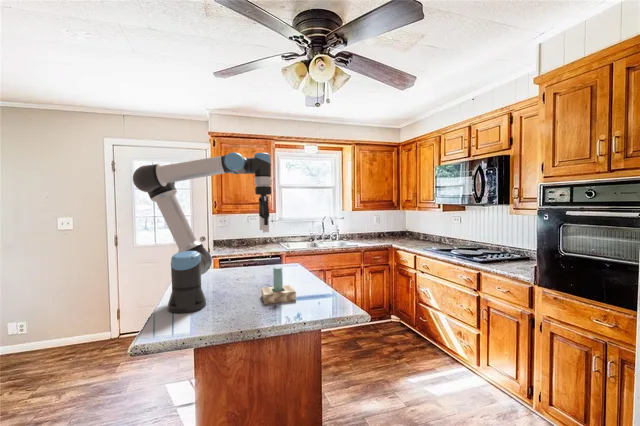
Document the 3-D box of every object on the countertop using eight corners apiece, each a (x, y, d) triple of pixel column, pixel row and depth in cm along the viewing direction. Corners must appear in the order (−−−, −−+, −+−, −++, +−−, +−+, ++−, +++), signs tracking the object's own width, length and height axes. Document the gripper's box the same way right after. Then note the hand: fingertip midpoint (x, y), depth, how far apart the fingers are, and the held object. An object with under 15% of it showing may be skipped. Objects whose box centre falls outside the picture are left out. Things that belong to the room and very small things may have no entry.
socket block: (264, 303, 138) (264, 294, 138) (261, 296, 150) (261, 287, 150) (295, 300, 142) (295, 291, 142) (290, 293, 154) (290, 285, 154)
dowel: (274, 300, 144) (274, 269, 143) (273, 297, 147) (272, 267, 147) (283, 299, 145) (282, 268, 144) (281, 296, 149) (281, 267, 148)
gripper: (275, 184, 139) (276, 233, 139) (267, 187, 162) (268, 228, 163) (257, 184, 136) (258, 233, 137) (252, 187, 160) (253, 229, 161)
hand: (264, 231), depth 150 cm, fingers open, 13 cm apart
